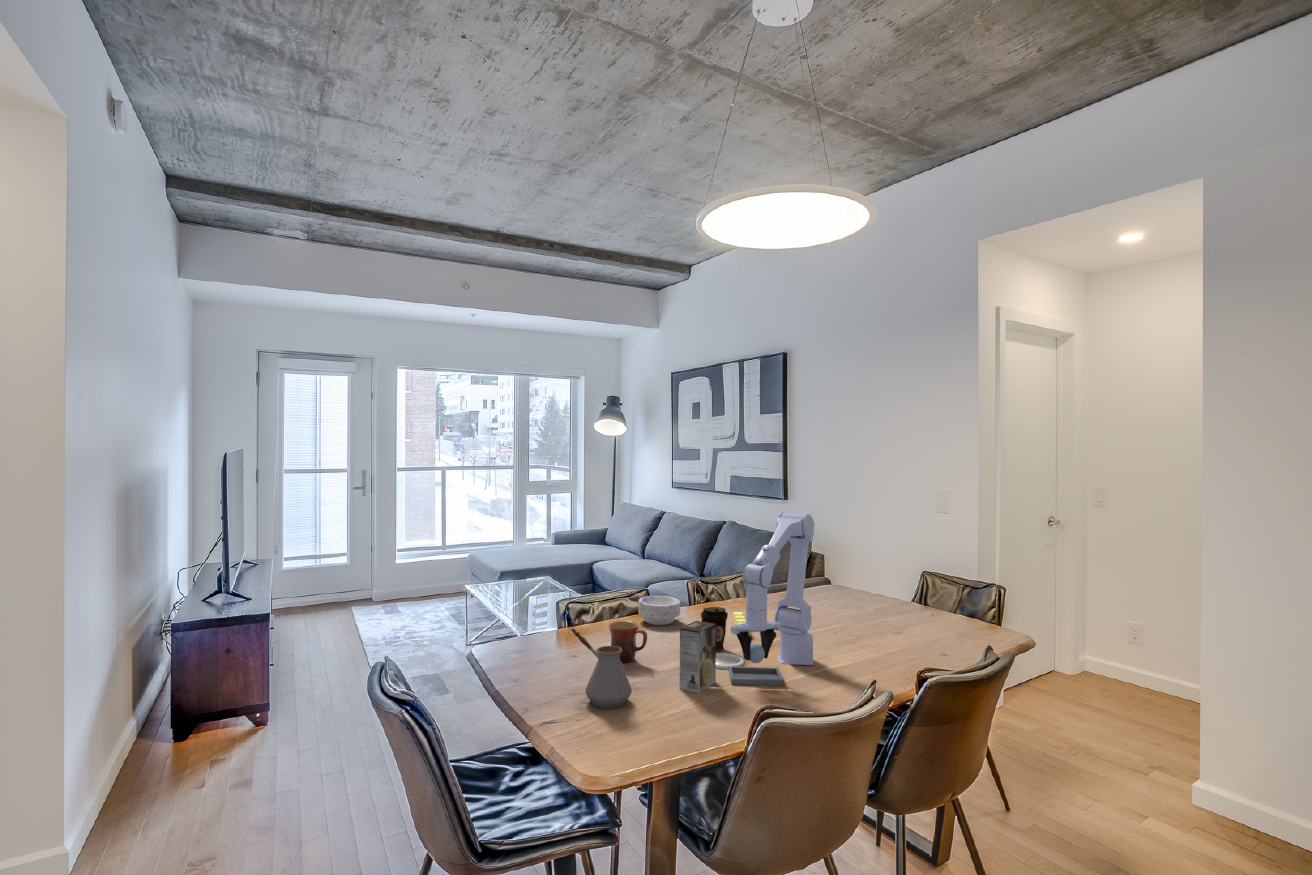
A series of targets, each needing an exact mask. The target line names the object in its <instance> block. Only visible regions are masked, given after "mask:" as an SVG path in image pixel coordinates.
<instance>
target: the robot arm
mask: <svg viewBox="0 0 1312 875" xmlns="http://www.w3.org/2000/svg"><path fill="white" fill-rule="evenodd" d="M775 528H776V529H775V531H774V534H773V535H772V537H771V539H770V541H769V543H768V544H765V545H763V546H762V547H761V549H760V550H759V552H758V553H757V555H756V557H755V558H754V560H753V561H752V563H749V564H747V565H745V567H744V568H743V570H742V575H741V578H742V582H743V588H744V591H745V619H746V623H743V624H738V625H735V624H734V625H730V634H732V635H736V637H737V639H738V641H739V644H740V647H741V651H742V655H743V660H744V659H745V660H746V661H750V646H751V645H752V641H753V637H752V636H751V635H750V636H749V634H748V633H749V632H750V633H758V632H759V634H760V642H761V643H760V646H762V647H763V649H764V651H765V656H764V659H766V660H767V659H768V657H769V652H770V650H771V647H772V645H773V642H774V640H775V639H776V638H777V632H776V631H780V636H779V637H780V640H779V642H780V645H779V652H780V653H779V654H776V656H777V658H778V660H779V662H780V664H782V665H794V666H795V665H797V666H798V665H799V666H800V665H801V666H802V665H803V666H813V665H814V638H813V637H814V636H813V633H812V631H809V630H810V629H811V627H812V621H813V620H812V608H811V607H812V606H810V604H808V603H807V601H806V600H805V599H804V592H805V591H804V590H805V583H806V582H805V581H806V572H807V561H808V553H809V544H810V543H813V540H814V532H815V522H814V518H813V516H812V515H811V514H809V513H794V512H793V513H792V512H786V511H782V512H780V513H779V514H778V515H777V518H776V520H775ZM788 541H789V543H790V545H791V546H790V555H789V566H788V574H787V583H786V584H787V585H786V593H785V597H783V598H782V599H780V600H779V601H778V602H777V605H776V609H775V612H774V616H773V617H774V618H773V619H774V621H768V586H769V585H770V584H772V578H773V574H774V569H775V567H776V565H777V564H778V563H779V560H780V559H781V553H780V551H781V550H782V549H783V547H784V546H785V545H786V543H787V542H788ZM790 607H791V608H790Z"/></svg>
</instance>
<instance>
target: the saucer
mask: <svg viewBox="0 0 1312 875" xmlns="http://www.w3.org/2000/svg"><path fill="white" fill-rule="evenodd" d="M744 662H745V661H744V657H741V656H739V655H737V654H733V653H728V652H716V669H718V670H728V666H733V667H743V666H744V664H745V663H744Z"/></svg>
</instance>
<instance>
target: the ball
mask: <svg viewBox="0 0 1312 875" xmlns="http://www.w3.org/2000/svg"><path fill="white" fill-rule="evenodd" d="M764 656H765V651H764V649H763V647H762V646H761V644H758V643H753V644H752V643H751V646H750V660H749V662H751V663H753V664H759V663H761V662H762V661H764V659H765V658H764Z"/></svg>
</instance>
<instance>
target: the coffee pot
mask: <svg viewBox="0 0 1312 875" xmlns="http://www.w3.org/2000/svg"><path fill="white" fill-rule="evenodd" d="M570 632H572V633H571V636H573V635H574V637H577V638H578V640H579V641H580V642H581V643H582V645H584V646H585V647H586V648H587V649H588V650H589V651H590V652H591V653H592V654H593V655H594V656H595V657H596V658H597V662H596V663H595V666H594V669H593V671H592V673H591V676H590V678H589V680H588V683H587V684H586V687H585V689H584V690H585V695H586V697H587V698H588V700H589V701H590V702H592V704H593V705H595V706H596V707H599V708H604V709H605V708H606V709H608V708H609V709H610V708H617V707H620V706H622V705H624V704H625V702H626V701H628V699H629V698H630V696H631V695H632V694H631V693H632V692H633V691H632V687H631V683H630V682H629V679H628V676H627V674H626V671H625V669H624V666H623V663H621V661H620V658H619V657H620V653H621V652H622V649H621V647H617V646H611V645H604V646H600V647H598V648H596V650H595V649H594V648H593V647H592V645H591V644H590V643H589V642H588V640H587V639H586V638H585V637H583V635H581V634H580V632H578V631H577V630H576V629H574V628H572V629H570V630H569V631H568V635H570Z"/></svg>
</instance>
